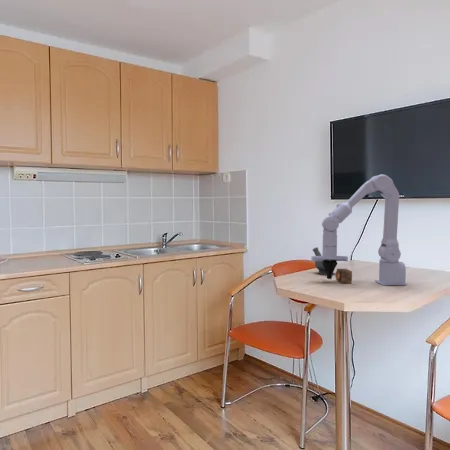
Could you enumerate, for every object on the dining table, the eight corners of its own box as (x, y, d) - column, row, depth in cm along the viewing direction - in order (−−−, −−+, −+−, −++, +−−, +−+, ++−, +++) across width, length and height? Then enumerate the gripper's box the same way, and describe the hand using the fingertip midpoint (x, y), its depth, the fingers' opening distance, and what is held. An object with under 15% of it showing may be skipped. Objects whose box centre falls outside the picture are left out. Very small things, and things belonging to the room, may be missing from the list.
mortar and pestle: (339, 273, 182) (339, 247, 181) (332, 276, 174) (332, 249, 173) (316, 270, 188) (316, 246, 188) (308, 273, 181) (308, 248, 180)
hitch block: (346, 280, 165) (346, 268, 165) (351, 283, 158) (352, 271, 158) (336, 280, 165) (336, 268, 165) (342, 283, 158) (342, 271, 158)
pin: (349, 279, 164) (349, 270, 163) (352, 281, 160) (352, 271, 160) (335, 279, 164) (335, 270, 163) (338, 281, 160) (338, 272, 160)
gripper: (344, 244, 165) (343, 276, 166) (309, 244, 165) (309, 276, 165) (349, 246, 158) (349, 279, 159) (314, 246, 158) (313, 280, 158)
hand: (329, 278), depth 162 cm, fingers closed
